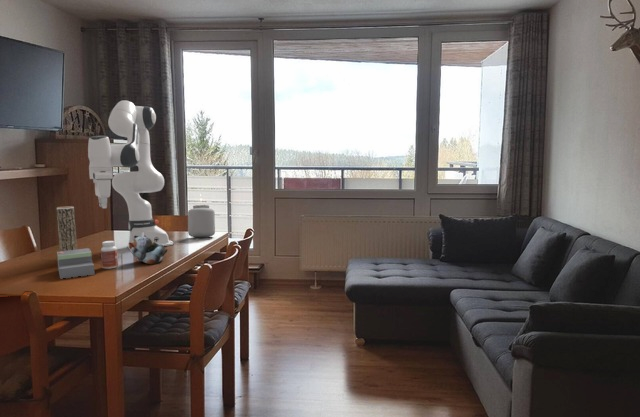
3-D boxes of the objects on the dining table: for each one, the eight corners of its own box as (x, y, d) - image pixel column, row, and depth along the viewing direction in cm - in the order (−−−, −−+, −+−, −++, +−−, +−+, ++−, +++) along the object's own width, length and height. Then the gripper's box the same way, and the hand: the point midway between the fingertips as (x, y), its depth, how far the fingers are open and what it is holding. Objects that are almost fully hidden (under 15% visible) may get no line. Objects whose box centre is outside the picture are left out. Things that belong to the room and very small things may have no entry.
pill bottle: (119, 267, 200) (117, 241, 199) (103, 269, 197) (101, 243, 196) (116, 265, 206) (114, 239, 204) (101, 267, 202) (99, 241, 201)
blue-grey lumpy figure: (158, 265, 204) (139, 238, 199) (136, 274, 207) (117, 248, 203) (172, 248, 217) (155, 223, 213) (152, 257, 221) (134, 233, 216)
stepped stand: (90, 266, 204) (88, 247, 203) (94, 274, 189) (93, 254, 188) (58, 270, 198) (56, 250, 197) (60, 279, 183) (58, 258, 182)
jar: (191, 235, 280) (189, 193, 277) (217, 234, 282) (215, 192, 279) (186, 240, 262) (184, 195, 259) (214, 239, 263) (212, 194, 261)
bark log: (81, 261, 214) (77, 206, 211) (69, 264, 208) (64, 208, 205) (70, 260, 216) (65, 206, 214) (57, 263, 210) (52, 207, 207)
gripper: (90, 174, 206) (92, 206, 207) (95, 174, 188) (97, 209, 190) (106, 174, 209) (108, 205, 210) (112, 174, 192) (114, 208, 193)
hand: (103, 207), depth 200 cm, fingers open, 8 cm apart
